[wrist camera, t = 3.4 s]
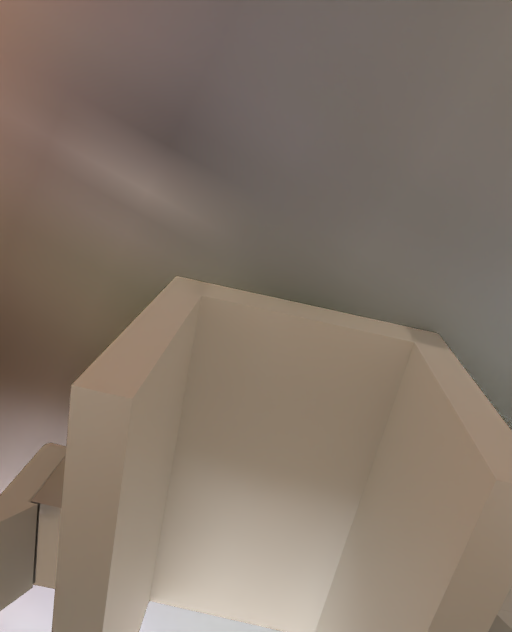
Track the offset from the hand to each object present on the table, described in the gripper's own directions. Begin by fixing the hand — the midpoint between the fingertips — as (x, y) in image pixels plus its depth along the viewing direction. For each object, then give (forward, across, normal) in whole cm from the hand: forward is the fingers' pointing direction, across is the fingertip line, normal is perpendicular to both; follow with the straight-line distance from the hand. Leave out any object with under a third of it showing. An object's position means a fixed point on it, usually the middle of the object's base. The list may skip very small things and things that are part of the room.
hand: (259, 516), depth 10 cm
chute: (+2, 0, 0) cm, 2 cm away
